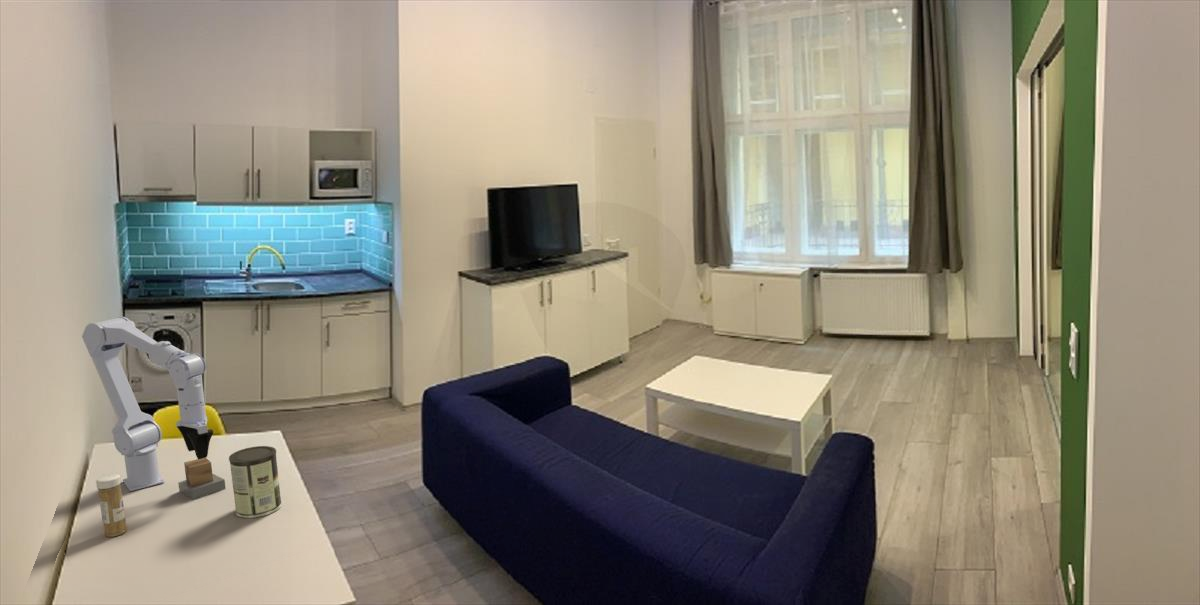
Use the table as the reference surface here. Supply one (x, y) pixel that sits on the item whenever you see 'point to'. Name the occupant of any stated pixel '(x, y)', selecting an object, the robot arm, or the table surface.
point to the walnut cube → (198, 471)
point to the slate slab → (202, 487)
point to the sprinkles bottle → (111, 505)
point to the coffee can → (255, 481)
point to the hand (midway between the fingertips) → (197, 454)
